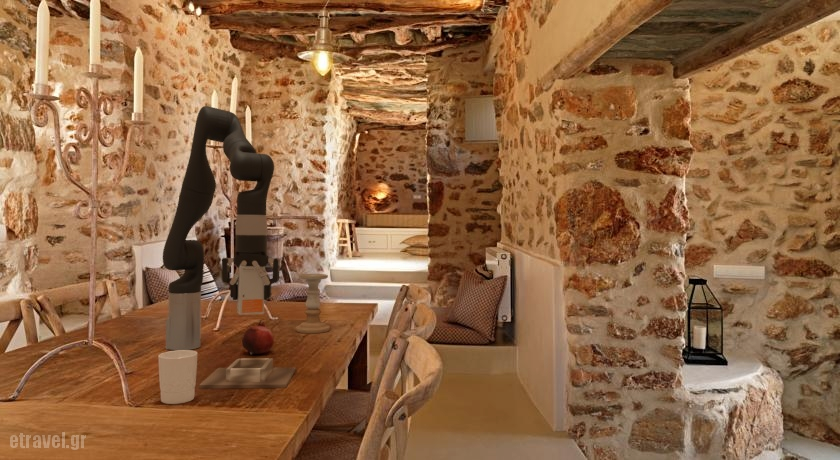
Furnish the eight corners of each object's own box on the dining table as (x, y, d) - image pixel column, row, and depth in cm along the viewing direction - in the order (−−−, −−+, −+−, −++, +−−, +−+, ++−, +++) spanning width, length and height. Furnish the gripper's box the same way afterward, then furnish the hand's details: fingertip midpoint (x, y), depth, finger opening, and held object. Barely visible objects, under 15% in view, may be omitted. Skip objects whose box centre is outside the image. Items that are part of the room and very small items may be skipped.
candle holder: (326, 334, 199) (327, 276, 198) (291, 333, 199) (292, 276, 199) (332, 327, 211) (333, 273, 211) (299, 327, 211) (300, 273, 211)
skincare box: (239, 315, 137) (240, 266, 137) (236, 313, 141) (237, 265, 141) (265, 314, 140) (265, 265, 140) (261, 311, 144) (261, 264, 143)
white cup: (172, 407, 118) (173, 360, 118) (150, 401, 122) (150, 355, 122) (204, 398, 125) (205, 353, 125) (182, 392, 129) (182, 348, 129)
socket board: (198, 388, 132) (198, 372, 132) (218, 370, 148) (218, 356, 148) (285, 387, 133) (285, 371, 133) (295, 370, 149) (295, 355, 149)
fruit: (240, 357, 162) (240, 323, 162) (243, 350, 172) (243, 317, 172) (273, 356, 164) (273, 322, 164) (274, 349, 174) (274, 317, 174)
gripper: (217, 233, 136) (217, 301, 136) (278, 234, 137) (277, 302, 137) (226, 232, 143) (225, 297, 143) (283, 233, 144) (282, 298, 145)
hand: (250, 299), depth 140 cm, fingers closed on skincare box, 7 cm apart
